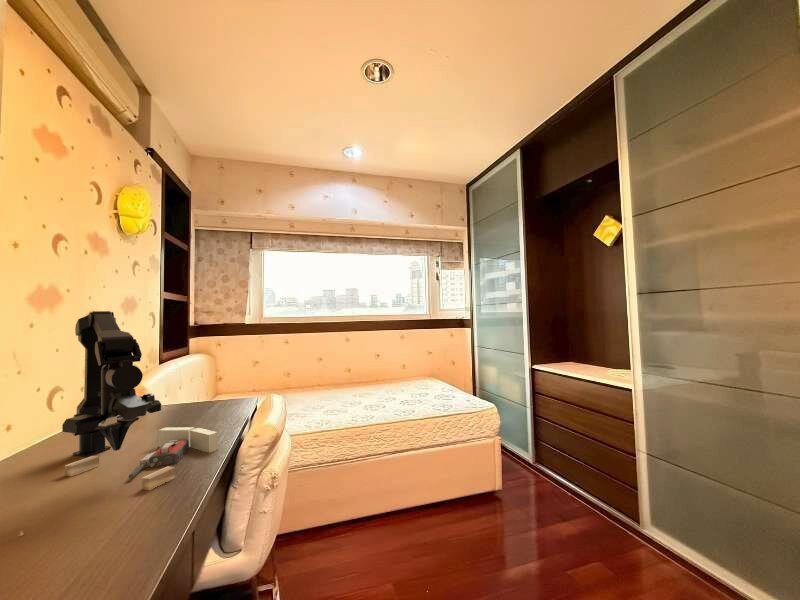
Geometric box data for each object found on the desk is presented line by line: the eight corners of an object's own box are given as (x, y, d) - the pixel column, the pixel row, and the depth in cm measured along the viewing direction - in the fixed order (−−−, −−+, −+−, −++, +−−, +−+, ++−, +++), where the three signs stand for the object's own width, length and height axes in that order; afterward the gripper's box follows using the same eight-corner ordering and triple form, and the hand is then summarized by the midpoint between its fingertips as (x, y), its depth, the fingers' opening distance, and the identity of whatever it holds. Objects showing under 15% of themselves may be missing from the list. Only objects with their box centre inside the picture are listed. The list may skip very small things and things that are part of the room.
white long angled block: (157, 446, 103) (157, 430, 103) (171, 441, 107) (171, 425, 107) (210, 452, 96) (210, 435, 96) (223, 446, 100) (223, 429, 100)
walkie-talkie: (157, 452, 99) (125, 483, 80) (157, 437, 99) (124, 464, 80) (191, 447, 102) (167, 476, 83) (191, 432, 102) (167, 458, 83)
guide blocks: (64, 475, 85) (65, 465, 85) (93, 465, 91) (93, 455, 91) (149, 490, 75) (149, 478, 76) (175, 477, 81) (175, 467, 81)
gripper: (93, 396, 72) (93, 470, 71) (175, 379, 90) (176, 438, 89) (61, 394, 76) (60, 465, 75) (146, 378, 93) (147, 435, 93)
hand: (116, 450), depth 83 cm, fingers closed
